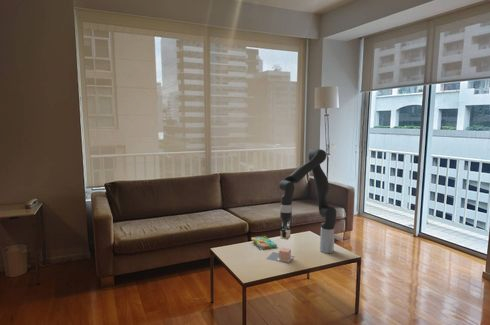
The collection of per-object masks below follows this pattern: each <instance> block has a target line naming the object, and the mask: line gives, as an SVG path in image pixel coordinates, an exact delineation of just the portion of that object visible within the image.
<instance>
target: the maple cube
mask: <svg viewBox="0 0 490 325" xmlns="http://www.w3.org/2000/svg"><path fill="white" fill-rule="evenodd" d="M283 230H284V229H283ZM290 238H291V229H289V230H286V237H285V238H284V237H282V231H281V230H280V239H282V240H289V239H290Z"/></svg>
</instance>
